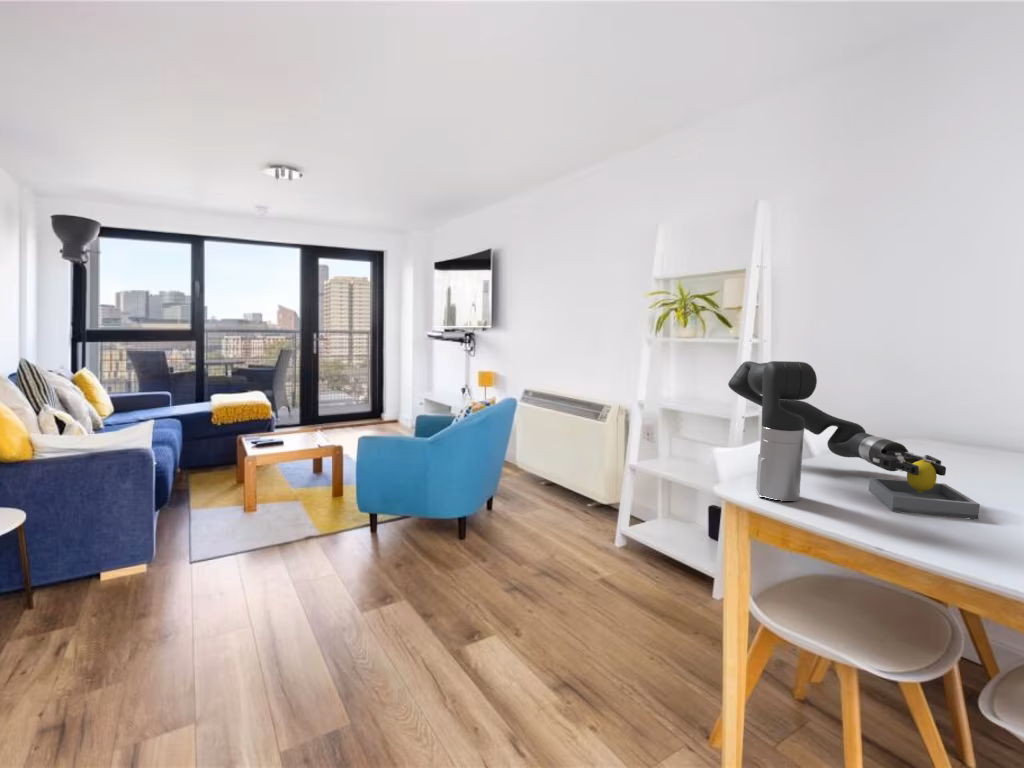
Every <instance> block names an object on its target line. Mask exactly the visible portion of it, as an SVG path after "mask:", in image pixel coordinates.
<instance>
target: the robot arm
mask: <svg viewBox="0 0 1024 768" xmlns="http://www.w3.org/2000/svg"><path fill="white" fill-rule="evenodd" d="M817 381H818V377H817V374H816V371H815V369H814V367H812V365H811V364H809V363H807V362H804V361H782V360H781V361H779V360H778V361H777V360H776V361H775V360H774V361H773V360H771V361H768V362H760V363H758V362H756V361H750V360H749V361H748V360H746V361H744V362H742V363H741V364H740V365H739V367H738V368H737V370H736V371H735V372H734V374H733V376H732V377H731V378H730V379H729V381H728V383H727V384H728V387H729V389H731V390H732V391H733V392H734V393H735V394H737V395H738V396H740V397H742V398H744V399H746V400H748V401H750V402H752V403H754V404H756V405H758V406H760V407H761V426H760V429H761V430H760V432H761V433H760V444H759V445H760V446H759V447H760V448H759V453H758V455H757V467H756V468H757V471H756V487H755V490H756V489H757V491H758V493H759V495H761V496H766V497H769V498H773V499H777V500H782V501H794V502H797V501H799V500H800V496H801V494H800V493H801V479H802V464H803V452H804V451H803V449H804V435H805V430H807V431H809V432H810V433H812V434H813V435H816V436H819V435H821V434H822V433H824V431H826V430H827V429H828V428H830V427H837V428H836V430H835V431H834V432H833V433H832V435H831V436H830V438H828V440H827V448H828V450H829V451H830V452H831V453H832V454H835V456H836V455H837V456H839V457H843V458H860V459H861V460H864V461H865V462H867V463H869V464H871V465H873V466H876V467H878V468H881V469H883V470H885V471H888V472H896V471H900V472H905V473H907V472H908V473H910V474H913V475H918V470H919V467H918V466H917V465H914V464H912V463H914V462H917V461H920V460H925V461H926V462H928V463H930V464H931V465H932V466H933V467H934V469H935V471H936V475H938V476H946V471H947V467H946V466H944V465H942V460H940V459H937V458H936V457H933V456H931V455H929V454H925V455H924V456H923V455H917V454H914V452H909V450H908V449H907V447H906V446H904V445H903V444H902V443H899V442H896V441H894V440H892V439H891V440H890V439H887V438H885V437H881V436H876V435H872V434H870V433H866V430H865V428H864V427H863V426H862V425H861V424H858V423H856V422H853V421H849V420H845V419H842V418H839V417H836V416H835V415H834V416H833V415H831V414H829V413H826V412H824V411H823V410H821V409H820V408H818V407H816V406H814V405H812V404H811V403H809V402H807V401H806V402H805V401H802V400H807V399H808V398H810V397H811V396H812V395H813V393H814V392H815V390H816V388H817ZM757 491H756V492H757ZM782 501H781V502H782Z"/></svg>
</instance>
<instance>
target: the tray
mask: <svg viewBox="0 0 1024 768" xmlns="http://www.w3.org/2000/svg"><path fill="white" fill-rule="evenodd" d="M868 483H869V484H868V492H869V493H871V494H872V495H873V496H874V498H876V499H877V500H878V501H880V502H881V503H882V504H883V505H884V506H885V507H886V508H888V510H890V511H891V512H896V513H905V514H906V513H907V514H914V515H916V514H917V515H927V516H936V517H944V516H945V518H947V517H948V518H954V517H955V518H956V519H964V518H970V519H969V520H974V519H978V520H979V516H980V509H981V508H980V506H981V504H980V503H978V502H977V501H975V500H973V499H972V498H970V497H968V496H967V495H965V494H963V493H961V492H960V491H959V490H956V489H954V487H951V486H950V485H948V484H946V483H942V482H941V483H940V482H936V483H935V485H934V486H933V487H932V488H931V489H930V490H926V491H923V492H922V493H919V492H917V490H916V489H914V488H912V487H911V486H910V485H909V483H908V481H907V479H906V480H904V479H892V478H881V477H869V479H868Z"/></svg>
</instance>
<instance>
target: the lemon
mask: <svg viewBox="0 0 1024 768" xmlns="http://www.w3.org/2000/svg"><path fill="white" fill-rule="evenodd" d="M912 464H914V465H917V466H918V467H919V470H918V475H913V474H910V473H908V472H906V481H908V483H909V485H910V486H911V487H912V488H914V489H916V490H917V492H919V493H922V492H923V491H926V490H930V489H931V488H932V487H933V486H934V485H935V483H937V474H936V471H935V469H934V467H933V466H932V465H931V464H930V463H928V462H926V461H925V460H920V461H917V462H914V463H912Z"/></svg>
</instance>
